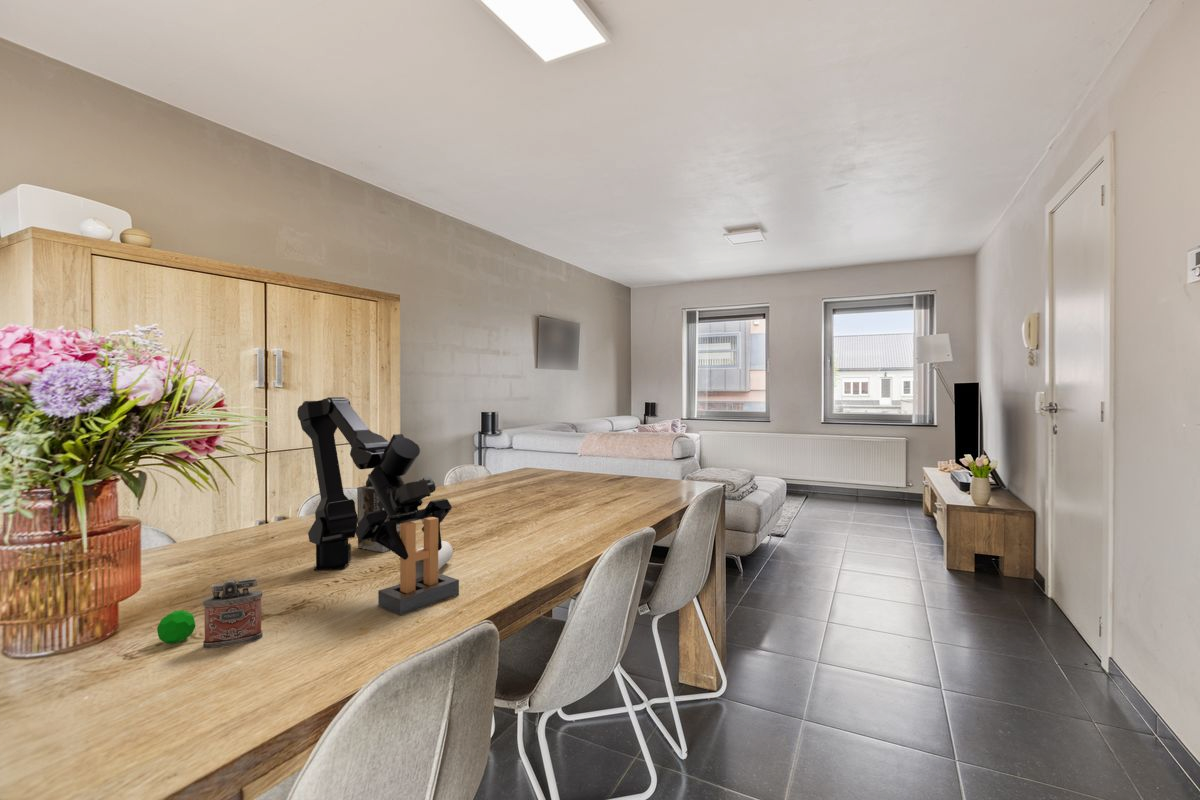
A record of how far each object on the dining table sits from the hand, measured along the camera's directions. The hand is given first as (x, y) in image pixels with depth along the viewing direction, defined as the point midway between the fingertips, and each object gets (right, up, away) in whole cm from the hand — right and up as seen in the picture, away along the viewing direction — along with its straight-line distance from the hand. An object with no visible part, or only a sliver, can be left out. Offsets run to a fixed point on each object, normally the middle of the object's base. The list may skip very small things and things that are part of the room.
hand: (423, 553), depth 106 cm
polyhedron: (-35, -10, -17) cm, 40 cm away
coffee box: (-24, -9, +37) cm, 45 cm away
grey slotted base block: (-1, -9, +1) cm, 10 cm away
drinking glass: (-3, -6, +25) cm, 26 cm away
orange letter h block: (-1, -7, +1) cm, 7 cm away
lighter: (-26, -10, -17) cm, 32 cm away
